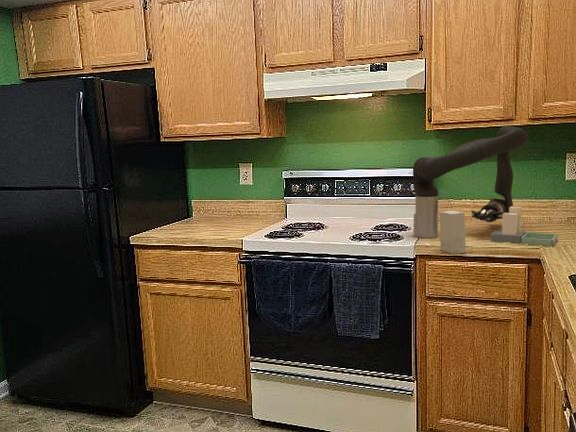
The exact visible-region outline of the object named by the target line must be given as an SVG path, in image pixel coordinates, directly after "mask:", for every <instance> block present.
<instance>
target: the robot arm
mask: <svg viewBox="0 0 576 432" xmlns="http://www.w3.org/2000/svg"><path fill="white" fill-rule="evenodd" d="M528 138H529V137H528V133H527V132H526V130H525V129H523V128H521V127H518V126H513V125H504V126H502V127H500V128H499V130H498V131H497V133H496V137H489V138H487V137H486V138H482V139H481V138H479V139H474V140H471V141H468V142H466V143H462V144H461V145H458V146H457V147H456V148H454V149H453V150H452V151H450V152H449V153H446V154H444V155H439V156H435V157H427V156H425V157H419V158H417V159H416V160H415V161H414V164H413V168H412V180H413V181H412V182H413V183H412V184H413V190H414V192H415V195H414V196H415V198H414V199H415V201H414V202H415V203H414V204H415V213H414V214H413V237H417V238H421V239H423V238H424V239H432V238H433V239H434V238H437V237H438V236H439V189H438V188H437V187H436V186H435V184H434V180H436V179H438V178H441V177H443V176H444V175H446V174H448V173H451V172H452V171H455V170H457V169H461V168H465V167H469V166H471V165H474V164H476V163H479V162H481V161H484V160H486V159H489V158H492V157H494V156H496V177H495V184H494V193H495V194H497V195H499V196H501V197H503V199H501V198H497V197H494V198H491V199H489V201H488V203H487V204H484V205H483V206H482V207H481V208H480V210H478V211H475V210H471V218H474V219H477V220H479V221H482V222H483V221H484V222H487V223H493V222H495V221H497V220H502V214H503V213H509V207H511V206H514V203H513V198H512V197H513V196H512V189H513V181H514V171H513V167H512V164H511V158H510V152H511V151H514V150H518V149H520V148H522V147H523V146H524V145H526V143H527V140H528Z"/></svg>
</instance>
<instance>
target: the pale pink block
mask: <svg viewBox="0 0 576 432" xmlns="http://www.w3.org/2000/svg"><path fill="white" fill-rule="evenodd" d="M501 220H502V223H501V230H502V234H505V235H516V234H518V213H503V214H502V219H501Z"/></svg>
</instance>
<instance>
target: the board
mask: <svg viewBox="0 0 576 432" xmlns="http://www.w3.org/2000/svg"><path fill="white" fill-rule="evenodd" d="M526 233H527V232H526V231H523V230H521V232H520V233H518V234H516V235H505V234H502V229H495V230H494V231H492V232H491V233H489V235H490V238H489V240H490V241H495V242H494V243H503V242H510V243H509V244H515V243H521V237H522V236H523V235H525V234H526Z"/></svg>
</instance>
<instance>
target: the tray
mask: <svg viewBox="0 0 576 432" xmlns="http://www.w3.org/2000/svg"><path fill="white" fill-rule="evenodd" d="M558 237H559V235H558V233H544V232H543V233H542V232H529V231H528V232H526V234H525V235H523V236H522V237H521V244H528V245H527V246H533V245H544V246H543V247H546V246H552V247H551V248H553V247H554V246H555V245H556V243H557V242H558ZM521 244H520V245H521ZM553 245H554V246H553Z"/></svg>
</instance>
